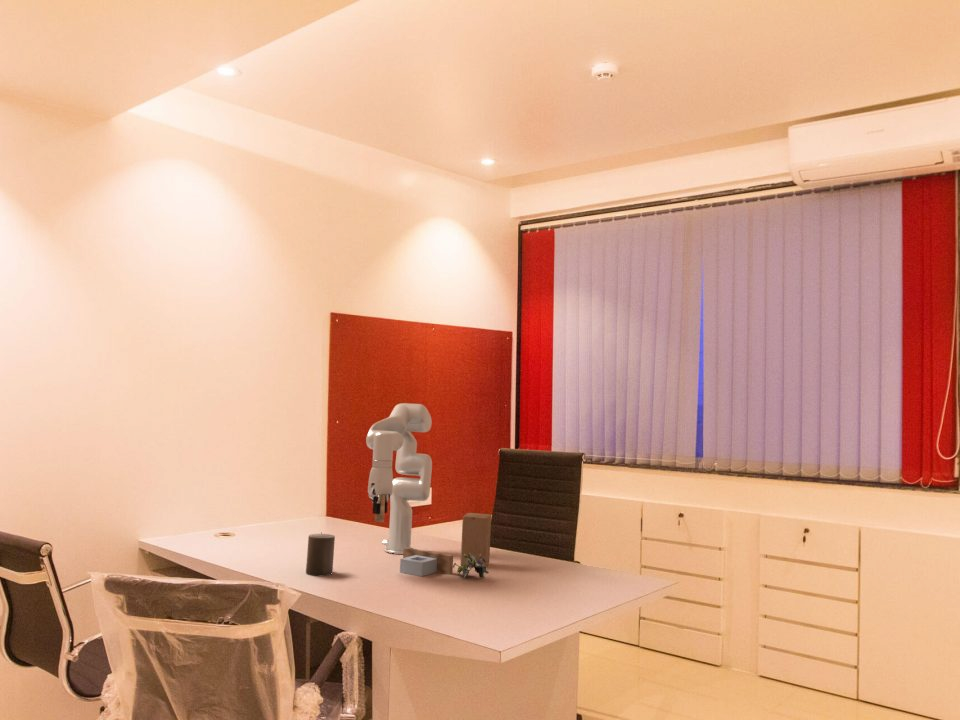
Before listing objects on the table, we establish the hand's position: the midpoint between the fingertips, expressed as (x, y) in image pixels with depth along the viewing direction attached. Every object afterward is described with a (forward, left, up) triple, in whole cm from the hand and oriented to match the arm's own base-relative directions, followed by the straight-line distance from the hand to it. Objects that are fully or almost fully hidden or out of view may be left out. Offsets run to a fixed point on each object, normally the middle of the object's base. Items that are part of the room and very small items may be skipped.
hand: (379, 512), depth 292 cm
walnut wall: (+13, +15, -22) cm, 30 cm away
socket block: (+13, +9, -22) cm, 27 cm away
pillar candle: (-14, -16, -22) cm, 31 cm away
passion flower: (+33, +14, -22) cm, 43 cm away
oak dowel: (0, 0, -3) cm, 3 cm away
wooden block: (+22, +36, -22) cm, 48 cm away
